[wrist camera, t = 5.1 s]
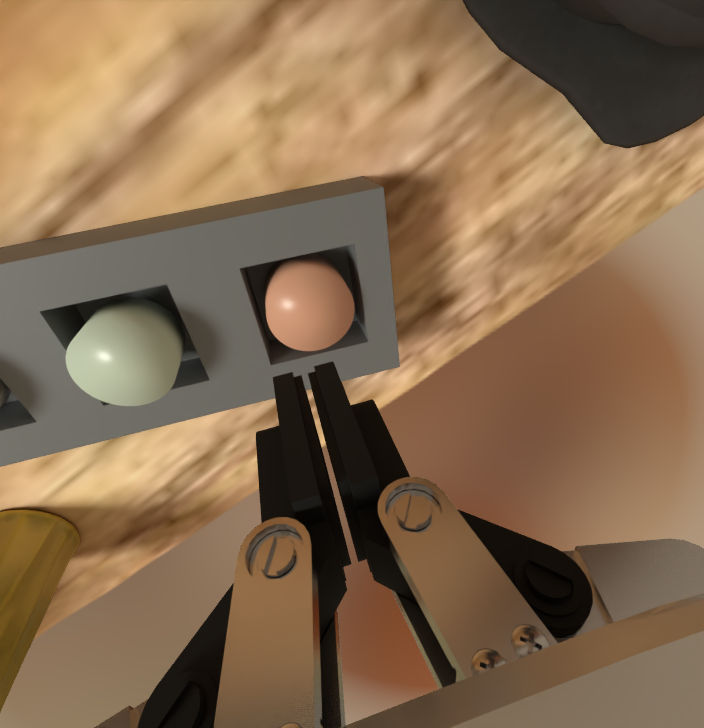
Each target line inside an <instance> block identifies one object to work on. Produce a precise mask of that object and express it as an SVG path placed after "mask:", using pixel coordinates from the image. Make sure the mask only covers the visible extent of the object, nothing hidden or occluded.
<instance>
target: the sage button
mask: <svg viewBox="0 0 704 728" xmlns="http://www.w3.org/2000/svg"><path fill="white" fill-rule="evenodd" d="M185 343H186V340H185V333H184V330H183V328H182V326H181V324H180V322H179V321H178V319H177V318H176V317H175V316H174V315H173V314H172V313H171V312H170V311H169V310H167V309H166V308H164V307H163V306H161V305H159V304H157V303H155V302H153V301H150V300H147V299H142V298H136V297H123V298H117V299H114V300H111V301H108V302H106V303H105V304H103V305H101V306H100V307H99V308H98V309H97V310H96V311H95V313H94V314H93V315H92V316H91V317H90V319H89V320H88V321H87V322H86V324H85V325H84V326H83V327H82V329H81V330H80V331H79V332H78V333H77V335H76V336H75V337H74V338H73V340H72V341H71V342H70V344H69V346H68V348H67V351H66V366H67V369H68V372H69V374H70V376H71V377H72V379H73V380H74V382H75V383H76V384H77V385H78V386H79V387H80V388H81V389H82V390H83V391H85V392H86V393H87V394H89V395H91V396H92V397H94V398H96V399H98V400H101V401H103V402H106V403H110V404H114V405H119V406H140V405H145V404H149V403H152V402H154V401H156V400H158V399H160V398H162V397H163V396H164V395H166V394H167V393H168V392H169V391H170V389H171V388H172V386H173V384H174V382H175V379H176V376H177V373H178V369H179V366H180V362H181V359H182V356H183V352H184V349H185Z"/></svg>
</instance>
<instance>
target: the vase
mask: <svg viewBox="0 0 704 728" xmlns="http://www.w3.org/2000/svg"><path fill="white" fill-rule="evenodd" d="M79 544H80V537H79V534H78V532H77V530H76V529H75V527H74V526H73V525H72V524H71V523H69V522H68V521H66V520H65V519H63V518H61V517H59V516H57V515H54V514H51V513H47V512H42V511H37V510H8V511H3V512H0V712H1V709H2V707H3V705H4V702H5V700H6V698H7V696H8V694H9V692H10V689H11V687H12V685H13V683H14V680H15V678H16V676H17V674H18V672H19V669H20V667H21V665H22V663H23V661H24V658H25V656H26V654H27V652H28V650H29V648H30V646H31V643H32V641H33V639H34V637H35V635H36V632H37V630H38V628H39V626H40V624H41V621H42V619H43V617H44V615H45V613H46V610H47V608H48V606H49V604H50V602H51V599H52V597H53V595H54V593H55V590H56V588H57V586H58V583H59V581H60V579H61V577H62V575H63V573H64V571H65V569H66V567H67V565H68V562H69V560H70V559H71V558H72V556H73V555H74V554H75V552H76V551H77V549H78V547H79Z"/></svg>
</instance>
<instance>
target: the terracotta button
mask: <svg viewBox="0 0 704 728" xmlns="http://www.w3.org/2000/svg"><path fill="white" fill-rule="evenodd" d="M265 305H266V318H267V323H268V325H269V328H270V330H271V332H272V333H273V334H274V336H275V337H276V338H277V339H278V340H279V341H280V342H282V343H283V344H284V345H286V346H288V347H290V348H293V349H296V350H300V351H317V350H321V349H324V348H327V347H329V346H331V345H333V344H335V343H336V342H338V341H339V340H340V339H341V338H342V337H343V336H344V335H345V334H346V333H347V331H348V330H349V328H350V326H351V324H352V321H353V318H354V310H355V307H354V300H353V297H352V294H351V292H350V290H349V288H348V287H347V285H346V283H345V281H344V280H343V278H342V276H341V274H340V272H339V271H338V269H337V268H336V266H335V265H334V264H333V263H332V262H331V261H330V260H328V259H327V258H325V257H323V256H321V255H319V254H316V253H309V254H305V255H300V256H296V257H291V258H286V259H282V260H280V261H278V262H277V263H276V264H275V265H274V266H273V267H272V269H271V270H270V272H269V274H268V276H267V278H266V282H265Z"/></svg>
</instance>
